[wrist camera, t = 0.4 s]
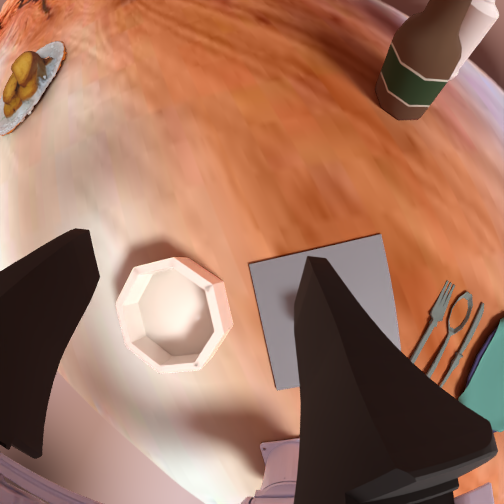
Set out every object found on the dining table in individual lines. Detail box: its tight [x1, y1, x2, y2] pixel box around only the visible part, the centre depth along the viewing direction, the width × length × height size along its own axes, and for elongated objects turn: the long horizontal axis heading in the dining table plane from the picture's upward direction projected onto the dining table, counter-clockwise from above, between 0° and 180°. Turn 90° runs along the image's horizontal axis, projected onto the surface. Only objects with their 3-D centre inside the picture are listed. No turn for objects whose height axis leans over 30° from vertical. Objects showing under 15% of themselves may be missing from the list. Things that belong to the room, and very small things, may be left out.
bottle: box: [449, 0, 499, 81], centre depth 19 cm, size 5×5×25 cm
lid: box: [249, 234, 401, 390], centre depth 32 cm, size 16×16×5 cm
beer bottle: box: [375, 0, 472, 120], centre depth 21 cm, size 8×8×24 cm
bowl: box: [115, 257, 233, 374], centre depth 34 cm, size 13×13×4 cm
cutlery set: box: [410, 280, 504, 433], centre depth 29 cm, size 20×30×2 cm, turn 63°
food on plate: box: [0, 41, 67, 136], centre depth 42 cm, size 25×25×7 cm
